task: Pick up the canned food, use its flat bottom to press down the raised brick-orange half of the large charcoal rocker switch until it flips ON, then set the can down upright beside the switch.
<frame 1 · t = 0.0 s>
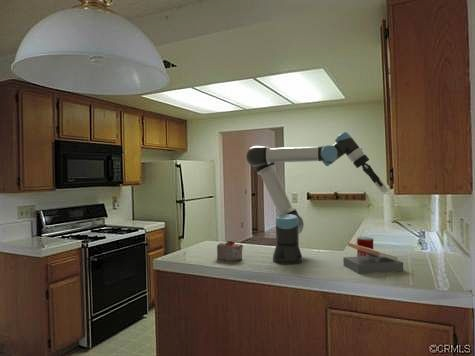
hand: (385, 191, 166), 36 cm above the countertop, tool tilted 35°, fingers open, 13 cm apart
switch base: (372, 268, 154), on the countertop
canned food: (365, 258, 173), on the countertop
food item: (230, 260, 172), on the countertop
rocker switch: (372, 252, 154), point 8 cm above the countertop, hinge at 16.0°
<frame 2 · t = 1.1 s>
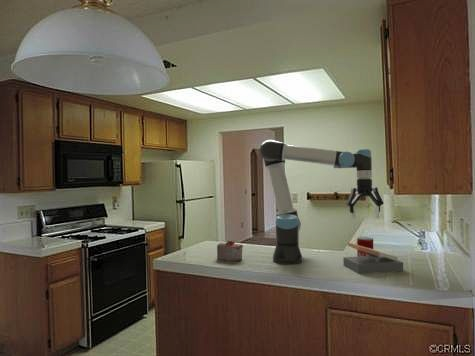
hand: (365, 218, 172), 21 cm above the countertop, tool pointing down, fingers open, 13 cm apart
nothing on the countertop moved.
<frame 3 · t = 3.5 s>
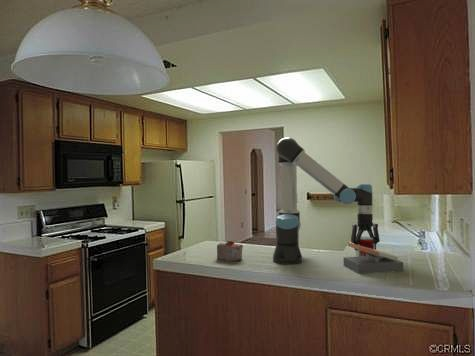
hand: (365, 256, 173), 1 cm above the countertop, tool pointing down, fingers closed on canned food, 8 cm apart
canned food: (365, 258, 173), on the countertop, touching gripper
everything else where it was.
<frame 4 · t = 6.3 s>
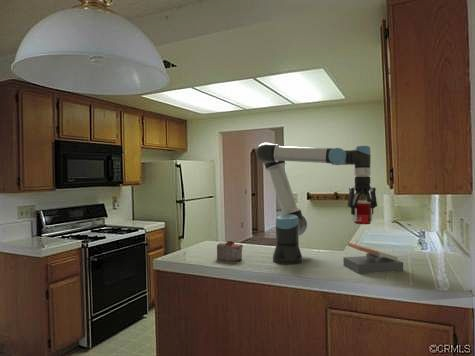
hand: (362, 220, 166), 21 cm above the countertop, tool pointing down, fingers closed on canned food, 8 cm apart
canned food: (362, 223, 166), point 19 cm above the countertop, touching gripper
everything else where it was.
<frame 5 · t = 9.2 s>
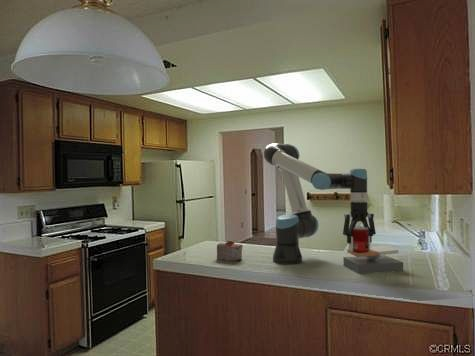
hand: (359, 250, 153), 9 cm above the countertop, tool pointing down, fingers closed on canned food, 8 cm apart
canned food: (359, 251, 153), point 8 cm above the countertop, touching gripper
rocker switch: (372, 252, 154), point 8 cm above the countertop, hinge at -2.8°, touching gripper
everything else where it was.
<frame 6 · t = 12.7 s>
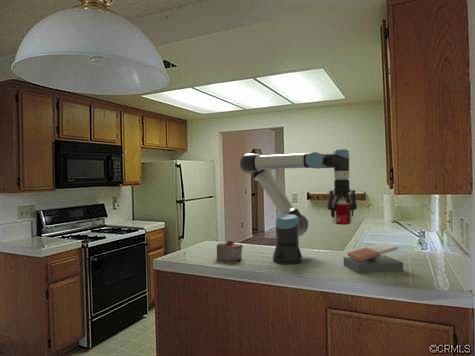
hand: (342, 223, 169), 19 cm above the countertop, tool pointing down, fingers closed on canned food, 8 cm apart
canned food: (342, 224, 169), point 19 cm above the countertop, touching gripper
rocker switch: (372, 252, 154), point 8 cm above the countertop, hinge at -12.4°
everything else where it was.
when the fingers open (3 cm above the countertop, at t = 16.0 s): canned food drops 2 cm, on the countertop.
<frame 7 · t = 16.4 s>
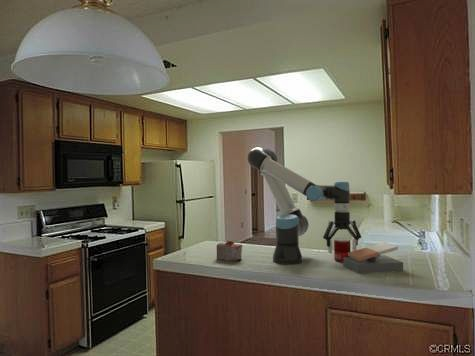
hand: (342, 252, 168), 4 cm above the countertop, tool pointing down, fingers open, 13 cm apart
canned food: (342, 260, 169), on the countertop
everything else where it was.
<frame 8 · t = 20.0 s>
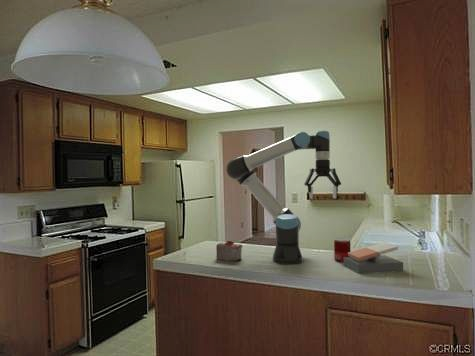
hand: (322, 198, 178), 32 cm above the countertop, tool pointing down, fingers open, 13 cm apart
nothing on the countertop moved.
at the end: rocker switch at -12° (first picture: +16°); canned food tilted 0°; canned food inside the target area (0.1 cm from its centre), on the countertop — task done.
